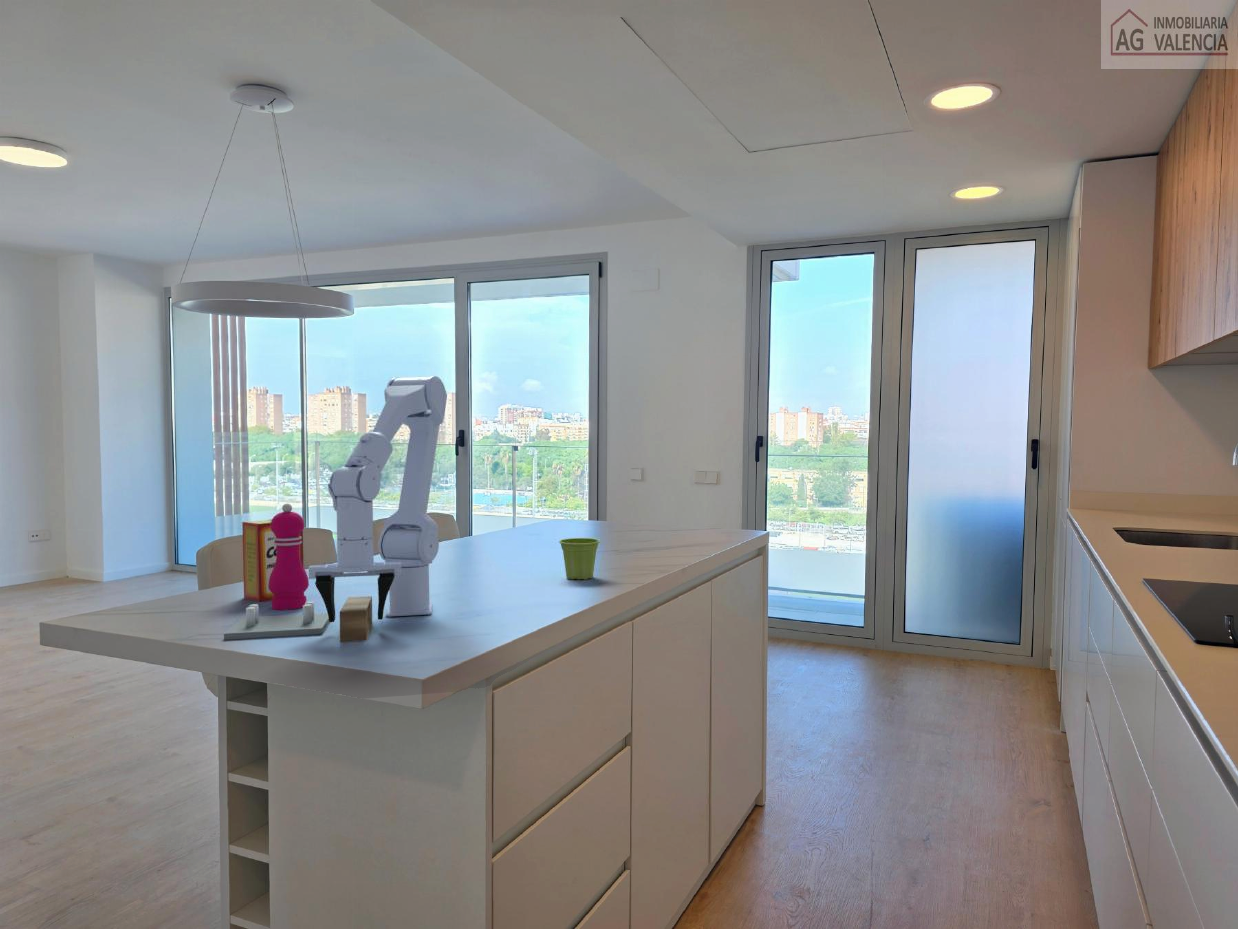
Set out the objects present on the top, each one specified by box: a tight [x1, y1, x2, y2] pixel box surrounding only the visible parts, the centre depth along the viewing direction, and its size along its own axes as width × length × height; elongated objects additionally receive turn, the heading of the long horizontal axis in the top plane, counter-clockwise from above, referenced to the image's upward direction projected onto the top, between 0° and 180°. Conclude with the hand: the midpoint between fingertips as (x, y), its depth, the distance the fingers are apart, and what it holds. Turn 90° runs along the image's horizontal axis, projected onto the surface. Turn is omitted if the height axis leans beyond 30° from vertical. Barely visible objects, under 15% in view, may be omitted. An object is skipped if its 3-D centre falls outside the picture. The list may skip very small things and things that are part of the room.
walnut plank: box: [339, 595, 373, 643], centre depth 133 cm, size 12×4×5 cm, turn 13°
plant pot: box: [558, 537, 601, 581], centre depth 183 cm, size 9×9×9 cm
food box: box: [241, 518, 305, 603], centre depth 164 cm, size 10×6×16 cm
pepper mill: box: [268, 503, 310, 611], centre depth 154 cm, size 7×7×20 cm
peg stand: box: [223, 601, 330, 641], centre depth 136 cm, size 12×15×4 cm
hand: (356, 619), depth 133 cm, fingers open, 7 cm apart
